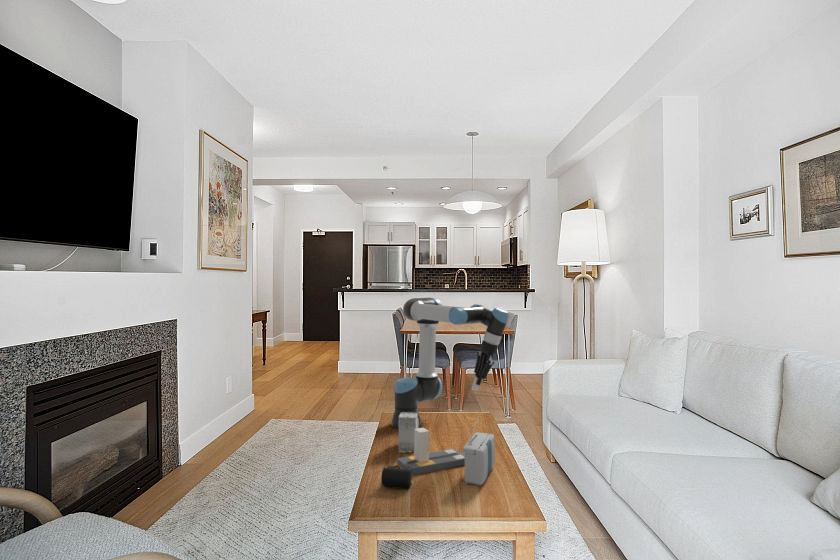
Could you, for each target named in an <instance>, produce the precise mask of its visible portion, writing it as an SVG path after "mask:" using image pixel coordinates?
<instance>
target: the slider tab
mask: <svg viewBox="0 0 840 560" xmlns="http://www.w3.org/2000/svg"><path fill="white" fill-rule="evenodd" d="M413 452H414V453H413V456H414V459H416V460H417V461H418V462H419V463H421V462H427V461H429V453H430V431H429V430H428V429H426V428H424V427H419V428H417V429H414V451H413Z"/></svg>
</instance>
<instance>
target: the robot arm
mask: <svg viewBox="0 0 840 560" xmlns="http://www.w3.org/2000/svg"><path fill="white" fill-rule="evenodd" d="M402 307H403V309H402V312H403V315H404V316H405V318H406V319H408V320H410V321H412V322H413V321H415V322H416V324H417V326H419V332H418V333H419V335H418V336H419V337H418V338H419V339H418V340H419V345H418V346H419V347H418V372H417V373H416V374H415V377H413V376H408V377H402V378H399V379H397V380H396V381H395V383H394V410H393V414H392V418H391V420H390V422H391V423H390V424H391V425H390V426H391V427H393V429H398V430H399V427H398V421H399V415H400V413H401V412H409V413H418V418H419V428H421V425H422V421H421V420H422V419H421V417H420V413H419V409H418V404H419V403H423V402H427V401H433V400H436V399H438V397H440V396H441V394H442V391H443V384H442V381H441V379H440V377H439V375H438V373H437V372H436V337H437V335H436V334H437V332H436V331H437V326H438V325H439V324H440V323H439V322H443V323H451V324H452V325H457V326H458V325H459V326H461V325H468V324H470V325H471V324H482V325H483V326H486V330H485V332H484V335H483V340H482V341H481V344H480V348H481V351H477V356H476V362H475V366H474V371H473V373H475V374H474V375H475V376H474V379H473V383H472V385H471V390H472V392H479V389H480V386H481V383H482V381H483V380H486V378H487V376H488V374H489V372H490V370H491V368H492V366H493V365H494V364H495V362H494V360H493V357H494V354H496V353H497V352H498V349H499V345H500V343H501V339H502V338H503V334H504V331H505V328H506V326H507V324H508V320H509V316H510V313H509V312H508V311H507V310H504V309H502V308H499V307H494V308H493V310H492V309H490V308H488V307H486V306H484V305H482V304H478V303H475V304H473V305H471V306H470V307H469V306H468V307H467V306H466V307H465V306H464V307H462V306H461V307H460V306H450V305H449V306H448V305H443V303H442V302H441V301H440V299H438V298H436V297H416V298H415V297H414V298H410V299H408V300H406V302H404V305H403V306H402Z"/></svg>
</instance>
